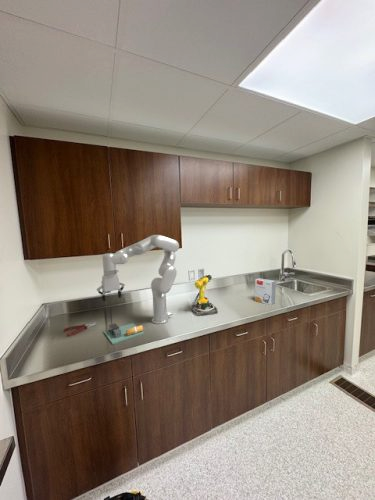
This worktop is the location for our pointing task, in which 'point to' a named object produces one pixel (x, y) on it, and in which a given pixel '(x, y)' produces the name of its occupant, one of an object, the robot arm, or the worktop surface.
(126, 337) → the cutting mat
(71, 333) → the pliers
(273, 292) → the hard drive box
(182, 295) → the worktop surface
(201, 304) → the yellow upright jointed figure
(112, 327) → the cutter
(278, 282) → the worktop surface
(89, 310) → the worktop surface
